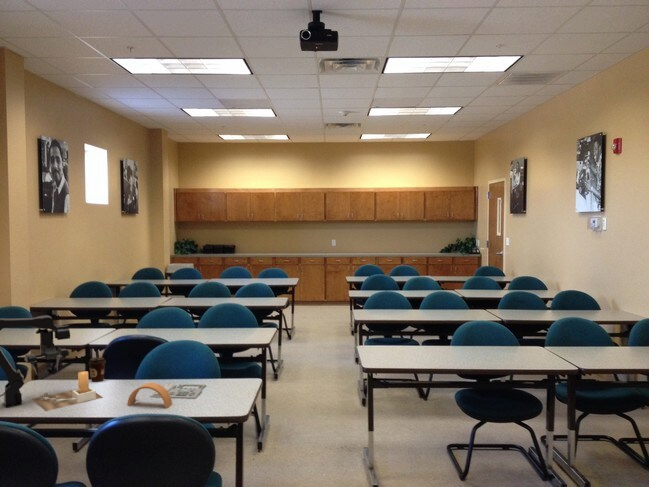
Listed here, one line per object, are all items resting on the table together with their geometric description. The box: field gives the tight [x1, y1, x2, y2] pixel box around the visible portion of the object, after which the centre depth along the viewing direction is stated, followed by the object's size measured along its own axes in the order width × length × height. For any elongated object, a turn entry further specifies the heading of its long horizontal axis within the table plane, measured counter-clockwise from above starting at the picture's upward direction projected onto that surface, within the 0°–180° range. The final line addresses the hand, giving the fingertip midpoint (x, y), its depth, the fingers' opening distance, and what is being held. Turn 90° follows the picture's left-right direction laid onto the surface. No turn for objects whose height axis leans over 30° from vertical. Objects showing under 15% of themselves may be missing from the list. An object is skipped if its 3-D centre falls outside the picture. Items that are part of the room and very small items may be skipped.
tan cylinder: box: [77, 370, 90, 394], centre depth 252 cm, size 4×4×12 cm
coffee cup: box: [88, 357, 107, 383], centre depth 281 cm, size 9×8×13 cm
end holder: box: [72, 386, 97, 404], centre depth 253 cm, size 8×8×4 cm
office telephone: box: [149, 383, 207, 400], centre depth 266 cm, size 23×3×20 cm
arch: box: [127, 382, 173, 409], centre depth 247 cm, size 6×20×10 cm, turn 80°
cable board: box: [31, 388, 104, 412], centre depth 254 cm, size 26×22×4 cm
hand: (47, 372), depth 256 cm, fingers open, 9 cm apart
